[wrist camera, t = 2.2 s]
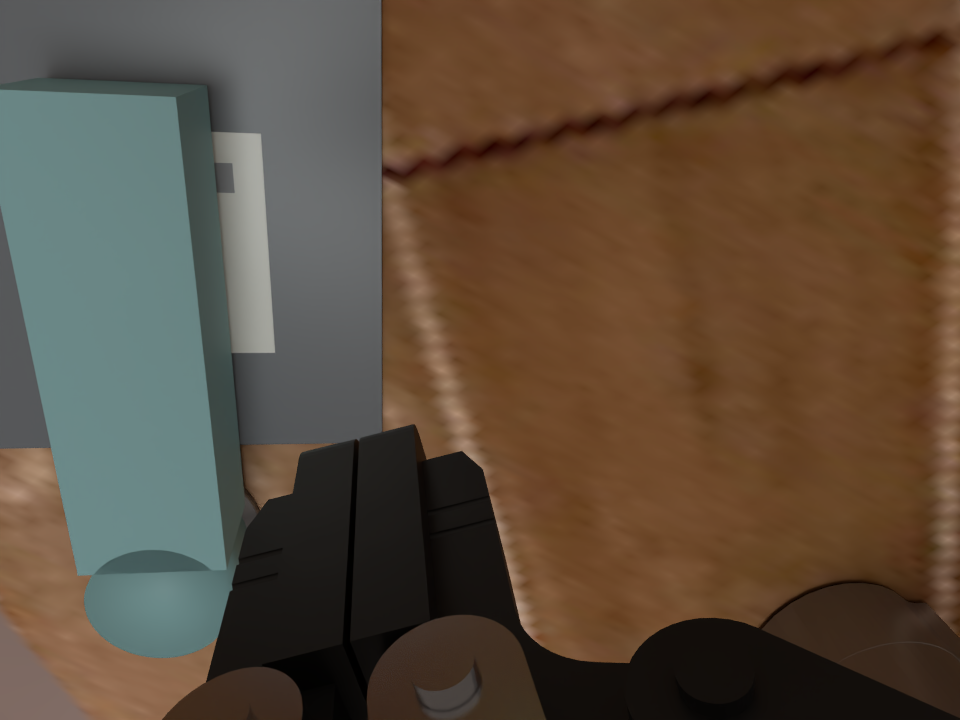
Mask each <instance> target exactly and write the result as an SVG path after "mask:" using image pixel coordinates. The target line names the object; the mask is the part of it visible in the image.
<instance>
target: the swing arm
mask: <svg viewBox="0 0 960 720" xmlns="http://www.w3.org/2000/svg"><path fill="white" fill-rule="evenodd" d="M0 206H1V211H2V216H3V221H4V225H5V230H6V235H7V240H8V245H9V249H10V254H11V259H12V264H13V268H14V273H15V278H16V283H17V287H18V292H19V297H20V302H21V306H22V311H23V316H24V321H25V325H26V330H27V335H28V340H29V345H30V349H31V354H32V359H33V364H34V368H35V373H36V378H37V383H38V387H39V392H40V397H41V402H42V406H43V411H44V416H45V421H46V426H47V430H48V435H49V440H50V445H51V449H52V454H53V459H54V464H55V468H56V473H57V478H58V483H59V487H60V492H61V497H62V502H63V507H64V511H65V516H66V521H67V526H68V530H69V535H70V540H71V545H72V549H73V554H74V559H75V564H76V568H77V573H78V576H79V575H92V577H91V579H90V581H89V583H88V585H87V587H86V591H85V596H84V605H85V611H86V614H87V617H88V619H89V621H90V623H91V624H92V626H93V627H94V629H95V630H96V631H97V632H98V633H99V634H100V635H101V636H102V637H103V638H104V639H105V640H107V641H108V642H110V643H111V644H113V645H114V646H116V647H118V648H120V649H122V650H124V651H127V652H129V653H133V654H136V655H140V656H145V657H153V658H170V657H178V656H183V655H187V654H190V653H193V652H196V651H198V650H200V649H202V648H204V647H206V646H207V645H209V644H210V643H211V642H213V641H214V640H215V639H216V638H217V637H218V634H219V631H220V627H221V623H222V619H223V615H224V611H225V607H226V604H227V600H228V596H229V592H230V591H232V590H233V588H232V581H233V577H234V573H235V569H236V565H239V560H238V557H239V554H240V550H241V546H242V542H243V538H244V534H245V531H246V528H247V527H246V525H245V522H244V520H243V518H242V514H243V510H244V507H245V498H244V487H243V476H242V465H241V454H240V443H239V432H238V421H237V410H236V399H235V388H234V377H233V366H232V355H231V344H230V333H229V322H228V311H227V300H226V289H225V278H224V267H223V256H222V245H221V234H220V223H219V212H218V201H217V190H216V179H215V168H214V157H213V146H212V135H211V124H210V113H209V102H208V91H207V85H193V84H170V83H147V82H125V81H102V80H80V79H57V78H34V79H29V80H23V81H17V82H11V83H5V84H0Z"/></svg>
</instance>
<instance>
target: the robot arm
mask: <svg viewBox="0 0 960 720" xmlns="http://www.w3.org/2000/svg"><path fill="white" fill-rule="evenodd" d="M238 560H239V565H236V569H235V573H234V577H233V581H232V588H233V590H232V591H230V592H229V596H228V600H227V604H226V607H225V611H224V615H223V619H222V623H221V627H220V631H219V634H218V638H217V642H216V646H215V650H214V654H213V657H212V661H211V665H210V669H209V673H208V677H207V680H206V683H204V684H202V685H201V686H199V687H198V688H196V689H195V690H193V691H192V692H190V693H189V694H188V695H187V696H185V697H184V698H183V699H182V700H180V701H179V702H178V703H177V704H176V705H175V706H174V707H173V708H172V709H171V710H170V711H169V712H168V713H167V714H166V716H165V717H164V718H163V719H162V720H960V638H959V637H958V636H957V635H956V634H955V633H954V632H953V631H952V630H951V629H950V628H949V627H948V625H947V624H946V623H945V622H944V621H943V620H942V619H941V618H940V617H939V616H938V615H937V614H936V613H935V612H934V610H933V609H932V608H931V607H930V606H929V605H928V604H927V603H910V602H908V601H906V600H905V599H903V598H902V597H901V596H899V595H898V594H897V593H895V592H894V591H892V590H890V589H887V588H885V587H882V586H880V585H873V584H867V583H845V584H840V585H835V586H830V587H826V588H823V589H820V590H818V591H815V592H812V593H810V594H807V595H805V596H803V597H802V598H800V599H798V600H796V601H794V602H792V603H791V604H789V605H788V606H787V607H785V608H784V609H783V610H781V611H780V612H779V613H777V614H776V615H775V616H774V617H773V618H772V619H771V620H770V621H769V622H768V623H767V624H766V625H765V626H764V627H763V628H762V629H759V628H756V627H754V626H751V625H748V624H746V623H742V622H738V621H734V620H729V619H719V618H698V619H692V620H686V621H682V622H679V623H676V624H672V625H670V626H668V627H666V628H664V629H662V630H659V631H658V632H657V633H655V634H654V635H652V636H651V637H649V638H648V639H647V640H646V641H645V642H644V643H643V644H642V645H641V646H640V647H639V648H638V650H637V651H636V652H635V654H634V655H633V657H632V659H631V661H630V663H603V662H587V661H579V660H574V659H570V658H566V657H563V656H560V655H558V654H555V653H553V652H551V651H549V650H547V649H545V648H544V647H542V646H540V645H539V644H538V643H537V642H535V641H534V640H533V639H532V638H531V637H530V636H529V635H528V634H527V633H526V632H525V630H524V629H523V627H522V625H521V623H520V619H519V614H518V610H517V606H516V601H515V597H514V593H513V589H512V584H511V580H510V576H509V572H508V567H507V563H506V559H505V555H504V551H503V547H502V543H501V539H500V535H499V531H498V527H497V524H496V520H495V516H494V512H493V508H492V504H491V500H490V496H489V492H488V488H487V484H486V480H485V476H484V472H483V469H482V468H481V467H480V466H478V465H477V464H476V463H475V462H474V461H473V460H471V459H470V458H469V457H468V456H467V455H466V454H465V453H463V452H462V451H460V452H456V453H452V454H448V455H444V456H440V457H436V458H432V459H428V460H426V456H425V453H424V449H423V446H422V443H421V439H420V436H419V433H418V430H417V428H416V426H415V424H413V425H409V426H405V427H401V428H397V429H393V430H389V431H385V432H381V433H377V434H373V435H369V436H365V437H361V438H360V440H359V441H358V440H357V439H354V440H350V441H346V442H342V443H338V444H334V445H330V446H326V447H322V448H318V449H314V450H310V451H305V452H302V453H301V454H300V457H299V462H298V467H297V473H296V478H295V484H294V489H293V494H290V495H286V496H282V497H278V498H274V499H270V500H268V501H267V502H266V504H265V505H264V506H263V508H262V509H261V510H260V511H259V513H258V514H257V515H256V517H255V518H254V519H253V521H252V522H251V523H250V524H249V526H248V527H247V528H246V531H245V534H244V538H243V542H242V546H241V550H240V554H239V557H238Z"/></svg>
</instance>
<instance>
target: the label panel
mask: <svg viewBox="0 0 960 720" xmlns="http://www.w3.org/2000/svg"><path fill="white" fill-rule="evenodd" d="M34 78H57V79H80V80H102V81H125V82H147V83H170V84H193V85H207V91H208V102H209V113H210V124H211V135H212V146H213V157H214V168H215V179H216V190H217V201H218V212H219V223H220V234H221V245H222V256H223V267H224V278H225V289H226V300H227V311H228V322H229V333H230V344H231V355H232V366H233V377H234V388H235V399H236V410H237V421H238V432H239V443H240V445H252V444H315V443H342V442H346V441H350V440H354V439H357V440H358V441H359V440H360V438H361V437H365V436H369V435H373V434H377V433H381V432H382V126H381V0H0V84H5V83H11V82H17V81H23V80H29V79H34ZM0 448H51V445H50V440H49V435H48V430H47V426H46V421H45V416H44V411H43V406H42V402H41V397H40V392H39V387H38V383H37V378H36V373H35V368H34V364H33V359H32V354H31V349H30V345H29V340H28V335H27V330H26V325H25V321H24V316H23V311H22V306H21V302H20V297H19V292H18V287H17V283H16V278H15V273H14V268H13V264H12V259H11V254H10V249H9V245H8V240H7V235H6V230H5V225H4V221H3V216H2V211H1V206H0Z"/></svg>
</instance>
